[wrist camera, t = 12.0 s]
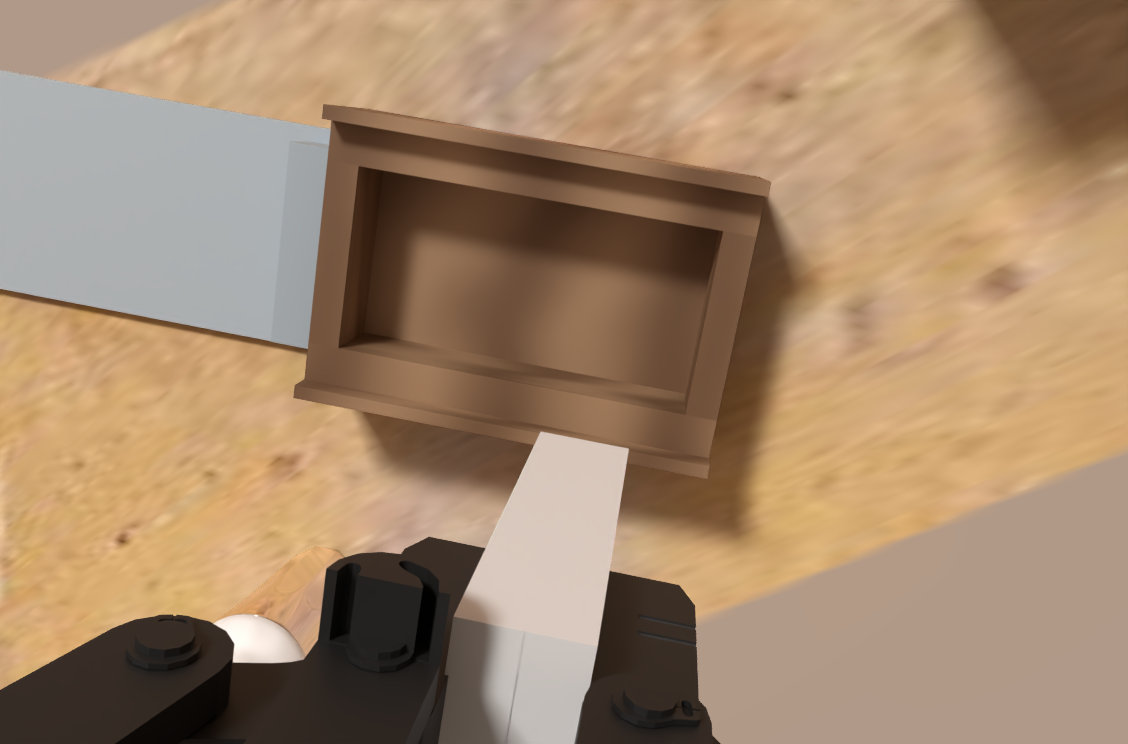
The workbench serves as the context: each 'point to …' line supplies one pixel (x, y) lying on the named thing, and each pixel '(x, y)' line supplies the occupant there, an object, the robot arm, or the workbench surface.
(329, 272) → the case
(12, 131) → the lid
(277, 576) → the milkshake
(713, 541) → the workbench surface
